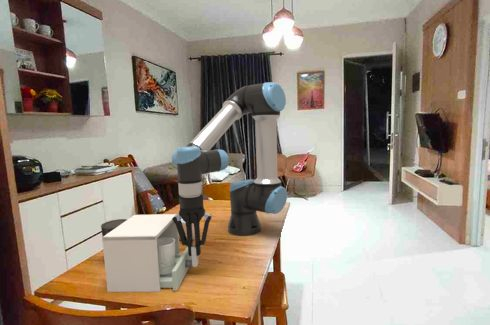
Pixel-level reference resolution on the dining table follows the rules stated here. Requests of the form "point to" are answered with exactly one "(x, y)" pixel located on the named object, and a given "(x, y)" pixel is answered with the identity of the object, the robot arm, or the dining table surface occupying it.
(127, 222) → the box
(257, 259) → the dining table surface
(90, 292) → the dining table surface
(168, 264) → the white cup
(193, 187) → the robot arm
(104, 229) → the coffee can
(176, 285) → the tray
